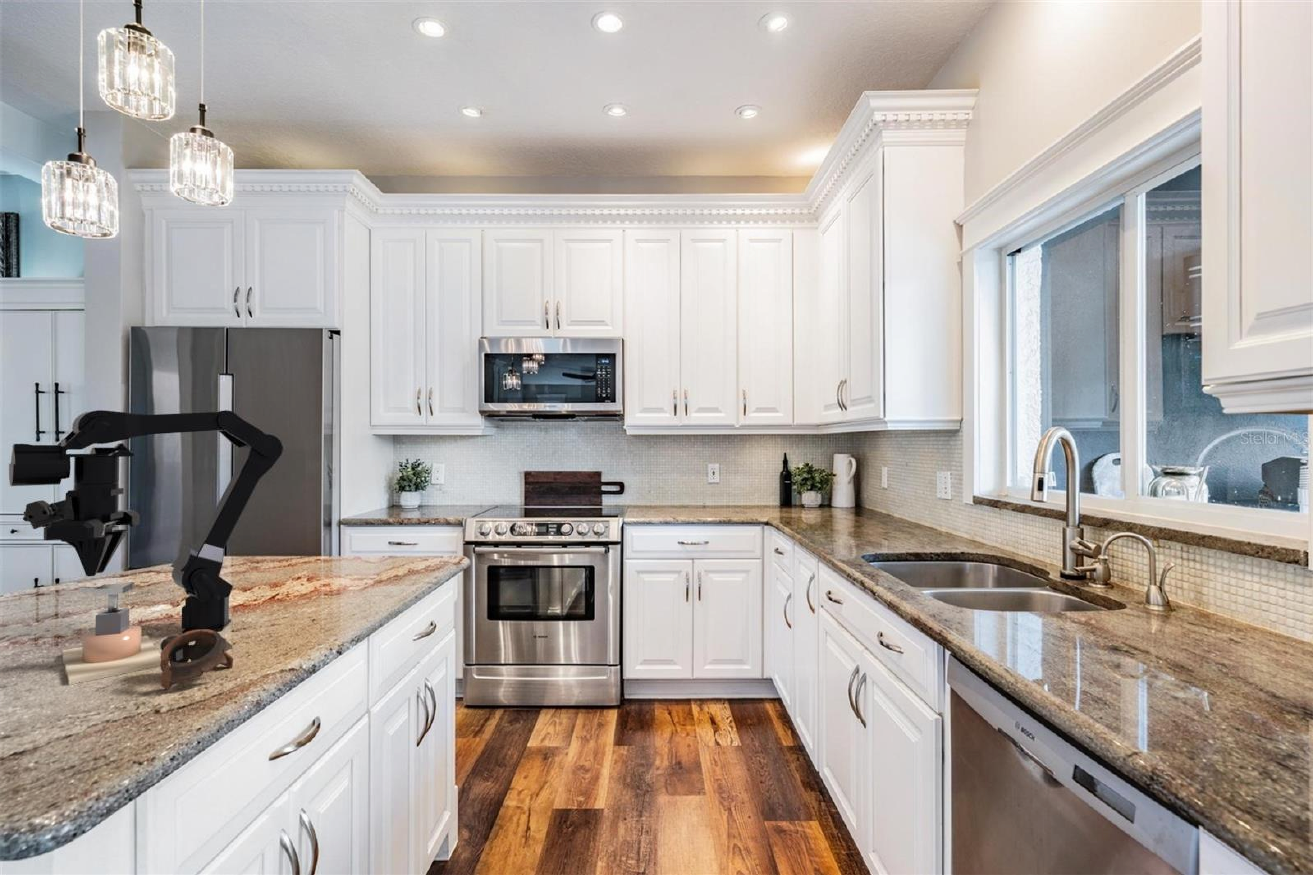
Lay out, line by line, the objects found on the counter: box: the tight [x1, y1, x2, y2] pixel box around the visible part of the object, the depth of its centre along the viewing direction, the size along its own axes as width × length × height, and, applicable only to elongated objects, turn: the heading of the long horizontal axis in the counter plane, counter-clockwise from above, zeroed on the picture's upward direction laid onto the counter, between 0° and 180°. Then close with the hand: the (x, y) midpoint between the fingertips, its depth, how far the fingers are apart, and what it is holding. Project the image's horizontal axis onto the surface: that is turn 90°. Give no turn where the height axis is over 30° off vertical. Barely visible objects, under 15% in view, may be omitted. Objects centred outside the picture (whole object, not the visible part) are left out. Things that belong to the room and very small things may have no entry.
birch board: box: [61, 635, 161, 686], centre depth 99 cm, size 18×11×1 cm, turn 47°
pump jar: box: [81, 607, 142, 663], centre depth 99 cm, size 7×7×7 cm
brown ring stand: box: [159, 629, 234, 691], centre depth 92 cm, size 12×10×8 cm
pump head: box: [77, 582, 134, 613], centre depth 99 cm, size 6×4×4 cm, turn 112°
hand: (95, 574), depth 104 cm, fingers open, 3 cm apart
